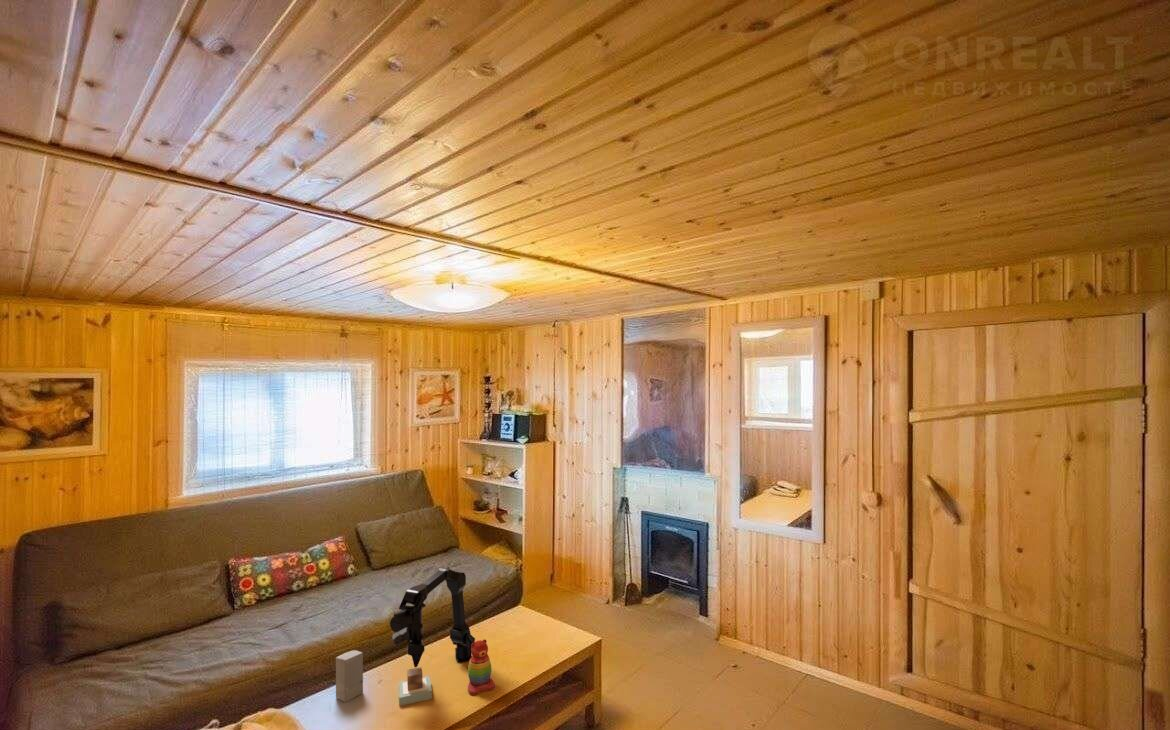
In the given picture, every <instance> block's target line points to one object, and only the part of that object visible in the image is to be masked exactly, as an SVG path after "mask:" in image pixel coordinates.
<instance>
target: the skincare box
mask: <svg viewBox="0 0 1170 730" xmlns="http://www.w3.org/2000/svg"><path fill="white" fill-rule="evenodd" d="M363 655H364V653H363V651H359V650H355V649H352V650H350V651H347V652H344V653H342V654H341V655H338V656H336V657H335V698H336V699H338V700H340V701H342V702H344V703H348V702H349V701H351V700H353V699H354V698H356V697H357V696H358V697H359V695H362V694H363V693H364V658H363V657H364V656H363Z"/></svg>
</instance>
